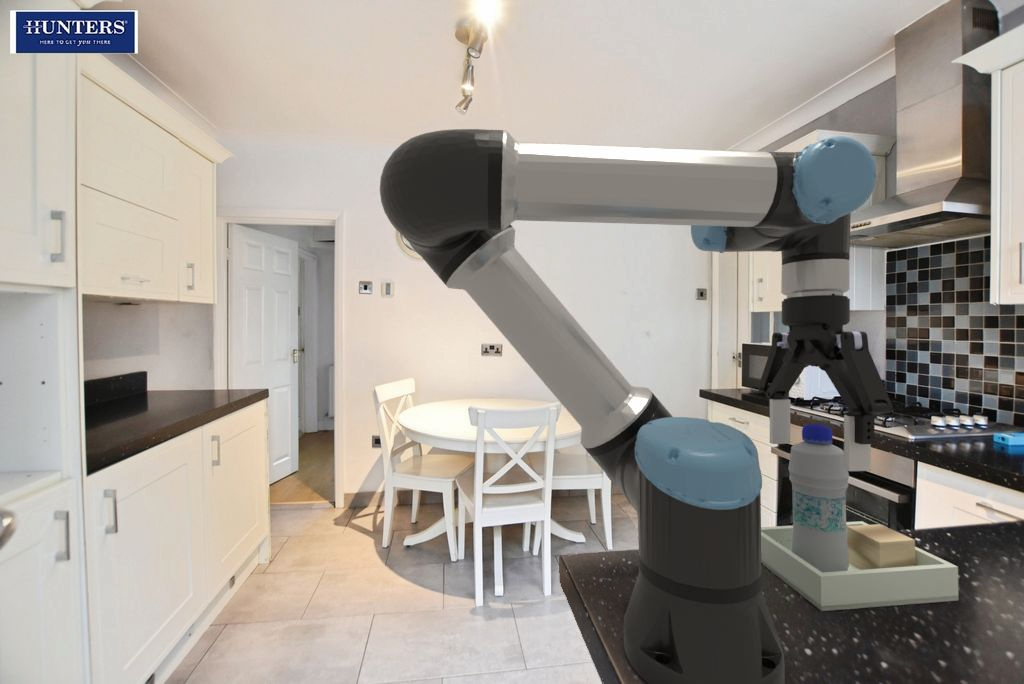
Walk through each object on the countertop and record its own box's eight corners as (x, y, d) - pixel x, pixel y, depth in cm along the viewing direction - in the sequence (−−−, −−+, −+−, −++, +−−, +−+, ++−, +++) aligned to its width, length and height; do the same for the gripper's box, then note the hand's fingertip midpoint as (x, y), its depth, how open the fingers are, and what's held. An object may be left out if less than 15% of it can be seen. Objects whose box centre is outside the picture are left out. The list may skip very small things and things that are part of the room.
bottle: (861, 589, 56) (857, 429, 56) (800, 583, 58) (796, 428, 58) (838, 563, 63) (834, 419, 62) (784, 558, 64) (780, 418, 64)
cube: (915, 578, 59) (914, 539, 58) (880, 581, 58) (879, 542, 58) (880, 559, 64) (879, 524, 63) (847, 561, 63) (847, 526, 63)
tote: (821, 611, 53) (821, 576, 53) (751, 555, 67) (750, 528, 67) (958, 600, 55) (958, 566, 55) (862, 548, 68) (861, 521, 68)
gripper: (936, 285, 48) (935, 484, 48) (778, 303, 73) (778, 434, 73) (870, 284, 47) (869, 486, 47) (734, 303, 72) (733, 435, 72)
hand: (814, 455), depth 60 cm, fingers open, 13 cm apart
